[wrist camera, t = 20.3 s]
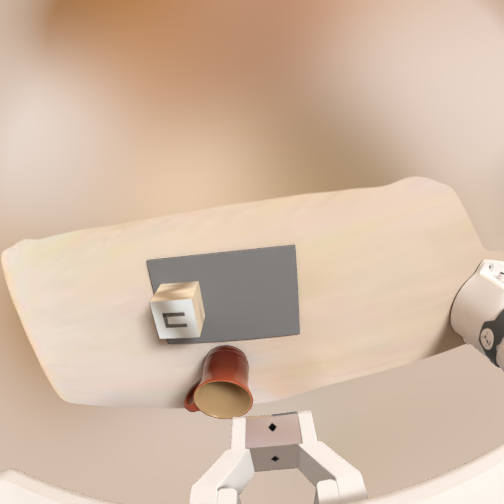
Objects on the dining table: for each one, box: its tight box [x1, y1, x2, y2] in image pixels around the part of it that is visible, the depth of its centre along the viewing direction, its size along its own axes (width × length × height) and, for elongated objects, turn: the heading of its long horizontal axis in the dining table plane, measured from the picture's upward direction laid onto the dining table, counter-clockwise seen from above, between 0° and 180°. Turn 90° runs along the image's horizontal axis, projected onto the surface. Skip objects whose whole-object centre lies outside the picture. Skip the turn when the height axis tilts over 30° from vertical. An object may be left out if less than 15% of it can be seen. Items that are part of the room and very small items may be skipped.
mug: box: [184, 345, 253, 419], centre depth 46 cm, size 12×9×10 cm
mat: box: [147, 245, 300, 344], centre depth 46 cm, size 22×15×1 cm
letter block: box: [150, 281, 205, 339], centre depth 43 cm, size 6×6×6 cm
